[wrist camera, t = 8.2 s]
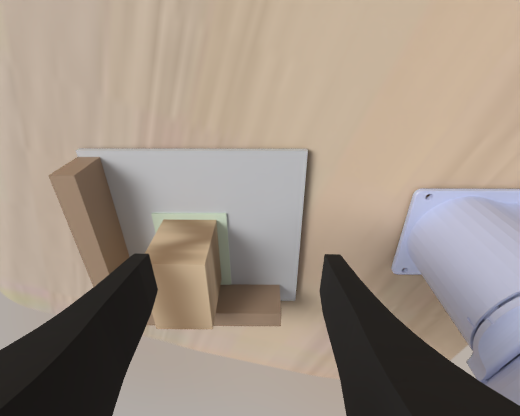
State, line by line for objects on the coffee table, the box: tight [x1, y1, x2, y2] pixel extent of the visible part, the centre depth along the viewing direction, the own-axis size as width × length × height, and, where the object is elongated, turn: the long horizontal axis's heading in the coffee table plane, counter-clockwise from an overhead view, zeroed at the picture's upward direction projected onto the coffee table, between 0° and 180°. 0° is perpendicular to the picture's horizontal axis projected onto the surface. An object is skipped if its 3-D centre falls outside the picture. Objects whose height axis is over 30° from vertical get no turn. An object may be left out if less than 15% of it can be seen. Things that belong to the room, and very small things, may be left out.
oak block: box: [145, 219, 222, 329], centre depth 21 cm, size 4×6×5 cm, turn 0°
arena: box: [49, 148, 308, 326], centre depth 22 cm, size 16×14×4 cm
